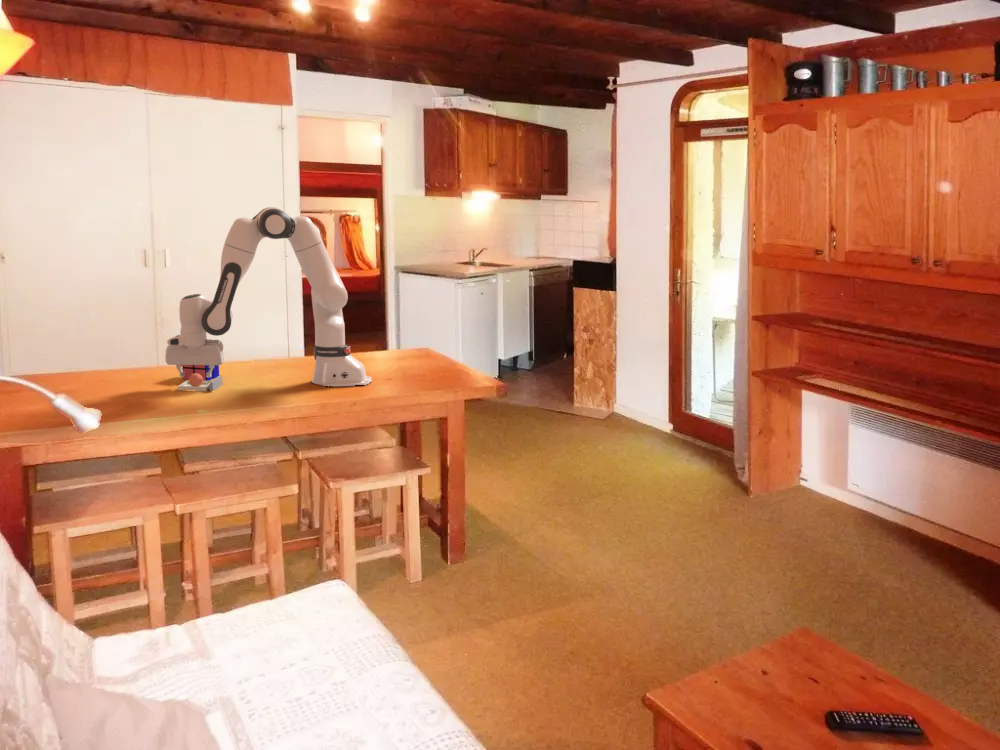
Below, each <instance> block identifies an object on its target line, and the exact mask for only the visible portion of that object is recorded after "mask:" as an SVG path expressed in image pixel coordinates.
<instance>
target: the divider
mask: <svg viewBox="0 0 1000 750" xmlns="http://www.w3.org/2000/svg"><path fill="white" fill-rule="evenodd" d="M210 381H211V382H210V389H209V392H210V391H214V390H215V391H217V389H219V388H220V387H221V386H223V375H220V374H219V376H218V377H216V378H214V379H212V380H210ZM218 387H219V388H218ZM215 391H214V392H215Z"/></svg>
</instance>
